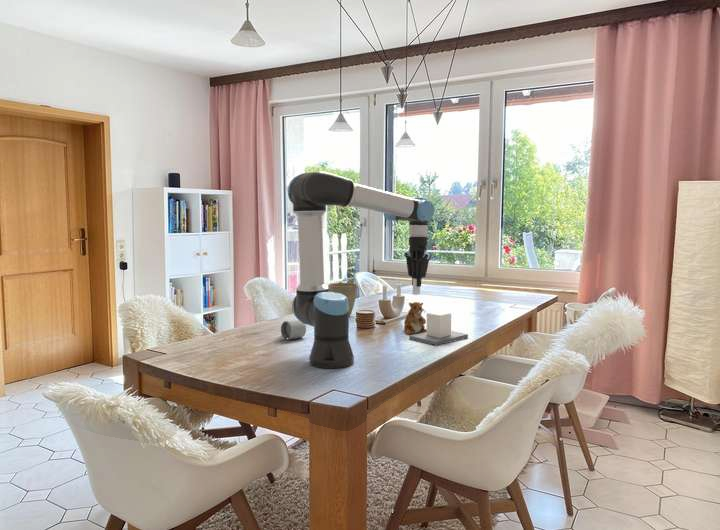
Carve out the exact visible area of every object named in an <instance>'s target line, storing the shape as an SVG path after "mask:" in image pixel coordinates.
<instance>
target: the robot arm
mask: <svg viewBox="0 0 720 530" xmlns="http://www.w3.org/2000/svg"><path fill="white" fill-rule="evenodd" d="M287 197H288V200H289V201H290V202H291V204H292V208H293V209H292V211H293V214H295V215H296V217H297V227H298V228H297V230H298V231H297V232H298V236H297V237H298V255H299V258H298V259H299V261H298V263H299V282H300V283H299V285H298V286H297V287H296V289H295V291H296V292H295V293H296V295H295V297H294V298H293V300H292V304H291V309H292V313H293V315H294V317H295V318H296V319H297V320H299V321H301V322H302V323H304V324H305V325H308V326H310V327H313V333H314V334H313V335H314V339H313V344H312V347H311V350H310V354H309V357H308V358H309V359H308V361H309V363H308V364H309V365H310V364H311V365H310V366H312V367H314V366H315V367H314V368H319V369H340V368H342V369H343V368H346V367H350V366H352V365H353V364H354V363H355V360H354V359H355V357H354V356H355V355H354V353H353V349H352V346H351V343H350V339H349V331H350V330H349V325H350V324H349V320H350V319H349V318H350V316H349V304H348V298H347V297H346V296H345V295H343V294H340V293H334V292H329V288H328V284H325V269H324V268H325V267H324V266H325V265H324V239H323V238H324V237H323V215H324V214H325V213H326V212H327V206H336V207H337V206H338V207H344V208H346V207H348V206H352V207H357V208H361V209H365V210H370V211H374V212H378V213H383V216H384V218H385V220H388V221H392V222H395V221H404V222H405V221H407V222H408V223H409V224H408V225H409V226H408V236H409V237H408V246H409V249H408V251H407V252H404V256H405V260H406V261H405V262H406V267H407V275H408V277H411V286H412V295H414V296H417V295H421V286H422V279H423V278H426V276H427V271H428V267H429V263H430V259H431V257H432V254H431V253H428V252H427V246H428V240H429V239H428V237H427V236H428V234H429V233H428V232H429V231H428V228H429V221H430V220H431V219H433V218H434V215H435V210H436V209H435V205H434V203H433V202H432V201H430V200H429V199H428V198H427V197H420V196H418V197H417V196H414V197H413V196H412V197H409V196H405V195H401V194H397V193H393V192H390V191H385V190H382V189H377V188H374V187H370V186H367V185H362V184H358V183H355V182H354V181H353V180H352V179H351V178H347V177H345V176H341V175H338V174H334V173H331V172H329V171H321V170H319V171H318V170H317V171H311V172H305V173H304V172H303V173H300V174H298V175H296V176H294V177H292V179H291V180H290V182H289V184H288V186H287Z"/></svg>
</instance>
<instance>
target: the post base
mask: <svg viewBox="0 0 720 530" xmlns="http://www.w3.org/2000/svg"><path fill="white" fill-rule="evenodd" d="M426 333H427V332H424V333H420V332H419V333H413V334H409V336H408V337H409V338H408V339H409V340H411V341H415V340H416V341H415V342H419V341H420V342H419V343H423V342H425V343H424V344H427V343H429V344H428V345H431V344H434V345H433V346H435V345H436V346H439V345H438V344H440V345H443V344H442V343H444V344H447V343H446V342H448V343H451V342H450V341H453V342H455V341H454V340H457V341H460V340H459V339H461V340H463V339H462V338H465V339H467V338H466V337H468V338H469V333H465V332H464V333H463V332H460V331H459V332H458V331H456V330H455V331H454V330H451V335H449V336H445V337H441V338H439V337H434V336H430V335H426Z"/></svg>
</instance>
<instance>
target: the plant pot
mask: <svg viewBox="0 0 720 530" xmlns="http://www.w3.org/2000/svg"><path fill="white" fill-rule="evenodd" d="M327 286H328V288H329V292H334V293H340V294H343V295H345V296H346V297H347V298H348V304H349V317H351V316H352V313H353V309H354V306H355V303H356V300H357V299H356V298H357V293H358V283H355V282H337V283H336V282H334V283H329V284H327ZM350 315H351V316H350Z"/></svg>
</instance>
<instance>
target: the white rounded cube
mask: <svg viewBox="0 0 720 530" xmlns="http://www.w3.org/2000/svg"><path fill="white" fill-rule="evenodd" d="M426 329H427V333H426V335H430V336H434V337H439V338H441V337H445V336H449V335H451V331H452V313H451V312H447V311H440V310H436V311H431V312H426Z"/></svg>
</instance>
